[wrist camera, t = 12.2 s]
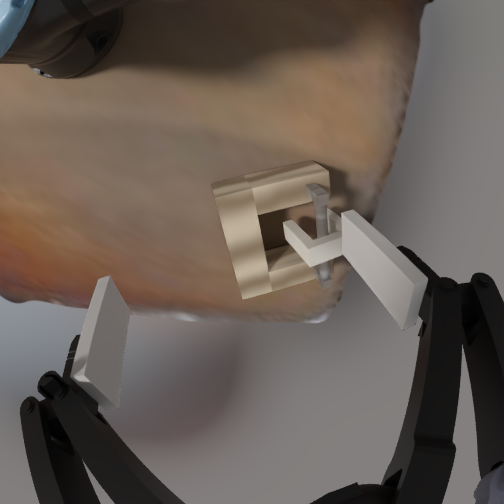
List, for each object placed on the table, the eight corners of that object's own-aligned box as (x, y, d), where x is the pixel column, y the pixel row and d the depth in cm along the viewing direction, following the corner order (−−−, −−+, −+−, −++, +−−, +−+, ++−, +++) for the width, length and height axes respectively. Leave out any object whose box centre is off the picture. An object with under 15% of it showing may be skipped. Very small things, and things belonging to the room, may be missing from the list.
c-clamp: (211, 184, 42) (218, 211, 33) (312, 160, 43) (343, 181, 34) (236, 277, 52) (247, 318, 43) (320, 254, 53) (345, 288, 44)
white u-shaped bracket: (282, 222, 44) (308, 249, 37) (327, 208, 45) (358, 230, 38) (285, 238, 46) (310, 267, 39) (328, 224, 47) (358, 248, 40)
